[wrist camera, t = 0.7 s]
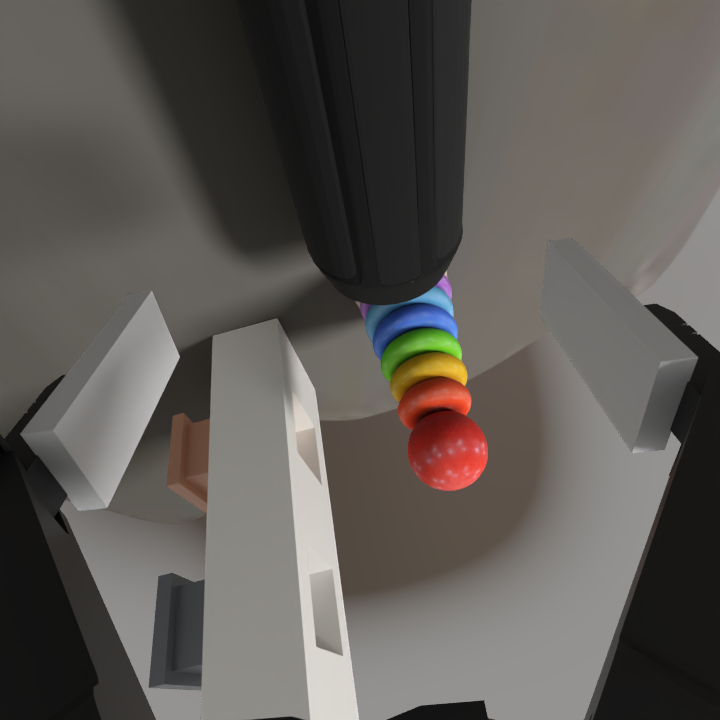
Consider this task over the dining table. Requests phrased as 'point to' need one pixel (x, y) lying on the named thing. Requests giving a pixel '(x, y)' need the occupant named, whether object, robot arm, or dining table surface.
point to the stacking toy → (429, 385)
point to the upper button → (178, 634)
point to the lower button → (189, 460)
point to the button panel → (270, 542)
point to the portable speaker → (369, 133)
